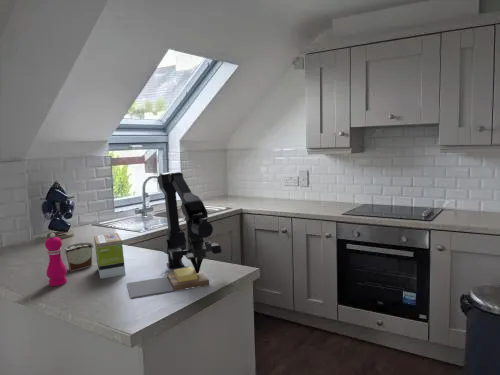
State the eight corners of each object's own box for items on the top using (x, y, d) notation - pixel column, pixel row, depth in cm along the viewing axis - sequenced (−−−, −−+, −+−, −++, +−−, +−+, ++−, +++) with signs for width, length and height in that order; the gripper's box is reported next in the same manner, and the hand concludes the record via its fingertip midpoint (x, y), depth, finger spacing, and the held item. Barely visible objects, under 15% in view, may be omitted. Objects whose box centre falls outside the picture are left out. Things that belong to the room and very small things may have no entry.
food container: (89, 262, 196) (86, 240, 195) (95, 265, 192) (93, 242, 191) (61, 269, 188) (59, 247, 186) (67, 272, 183) (64, 249, 182)
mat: (127, 284, 164) (126, 283, 164) (166, 278, 169) (166, 276, 169) (130, 298, 149) (130, 297, 149) (174, 291, 154) (174, 290, 154)
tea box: (97, 269, 186) (93, 235, 184) (121, 265, 190) (118, 232, 188) (99, 279, 172) (96, 242, 170) (125, 274, 176) (122, 239, 174)
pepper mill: (70, 279, 173) (65, 230, 171) (63, 286, 166) (58, 234, 164) (52, 280, 173) (46, 231, 171) (44, 287, 166) (38, 236, 163)
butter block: (174, 274, 167) (173, 269, 166) (192, 271, 169) (191, 266, 169) (178, 281, 158) (178, 276, 158) (197, 278, 161) (197, 273, 160)
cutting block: (167, 278, 169) (166, 273, 169) (199, 273, 173) (199, 268, 173) (173, 291, 155) (173, 285, 155) (209, 285, 159) (209, 279, 159)
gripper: (173, 240, 152) (177, 283, 154) (224, 233, 159) (227, 275, 161) (168, 234, 163) (171, 274, 165) (216, 228, 169) (218, 267, 171)
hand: (197, 273), depth 165 cm, fingers closed
